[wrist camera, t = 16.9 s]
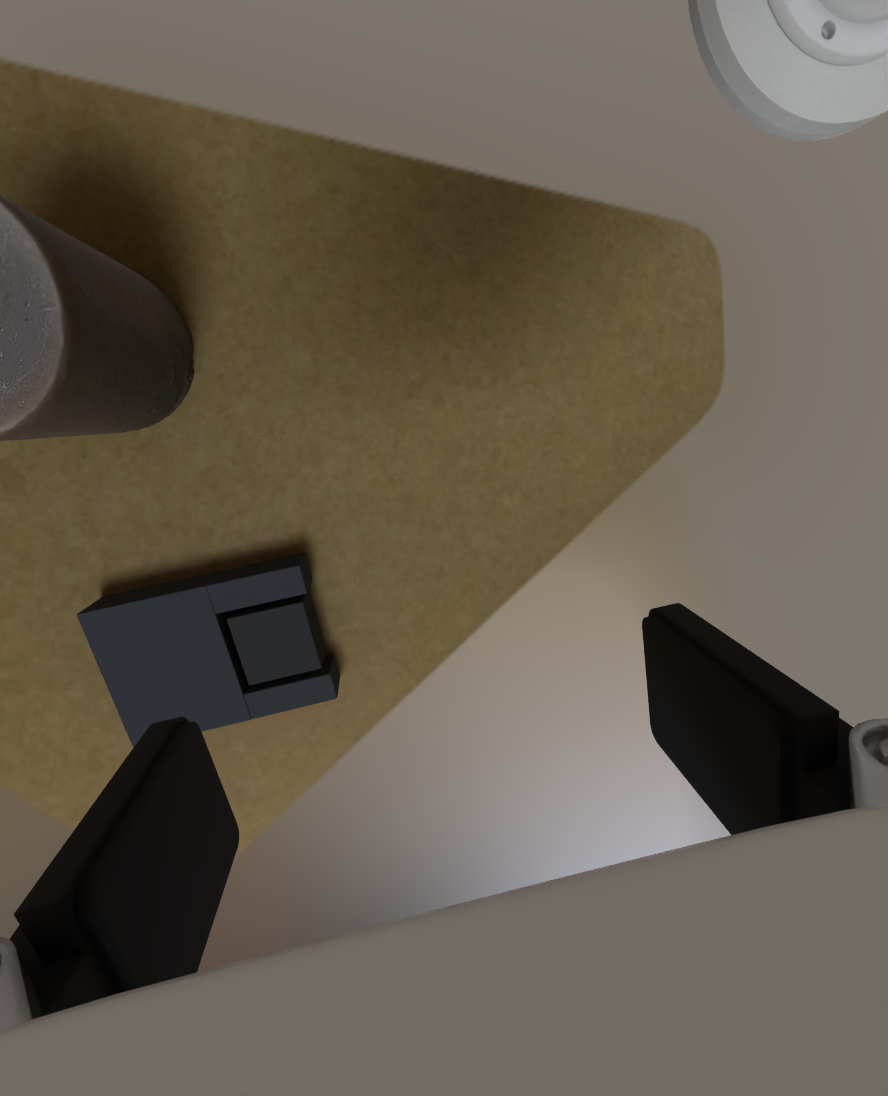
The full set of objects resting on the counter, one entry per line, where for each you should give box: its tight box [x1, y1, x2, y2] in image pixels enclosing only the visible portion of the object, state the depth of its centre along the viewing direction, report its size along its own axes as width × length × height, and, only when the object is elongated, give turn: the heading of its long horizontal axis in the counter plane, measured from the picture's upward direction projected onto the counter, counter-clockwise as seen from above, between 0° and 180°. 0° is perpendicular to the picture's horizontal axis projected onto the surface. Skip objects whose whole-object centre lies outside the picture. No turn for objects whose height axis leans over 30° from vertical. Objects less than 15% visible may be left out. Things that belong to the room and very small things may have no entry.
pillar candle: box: [0, 195, 193, 441], centre depth 24 cm, size 10×10×15 cm
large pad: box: [77, 553, 340, 748], centre depth 35 cm, size 14×10×3 cm
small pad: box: [227, 589, 326, 685], centre depth 36 cm, size 5×5×3 cm
